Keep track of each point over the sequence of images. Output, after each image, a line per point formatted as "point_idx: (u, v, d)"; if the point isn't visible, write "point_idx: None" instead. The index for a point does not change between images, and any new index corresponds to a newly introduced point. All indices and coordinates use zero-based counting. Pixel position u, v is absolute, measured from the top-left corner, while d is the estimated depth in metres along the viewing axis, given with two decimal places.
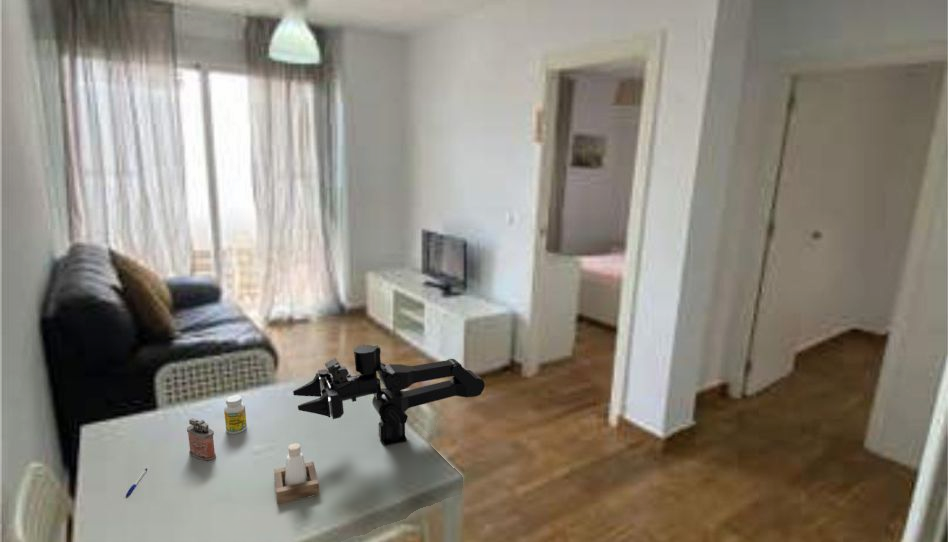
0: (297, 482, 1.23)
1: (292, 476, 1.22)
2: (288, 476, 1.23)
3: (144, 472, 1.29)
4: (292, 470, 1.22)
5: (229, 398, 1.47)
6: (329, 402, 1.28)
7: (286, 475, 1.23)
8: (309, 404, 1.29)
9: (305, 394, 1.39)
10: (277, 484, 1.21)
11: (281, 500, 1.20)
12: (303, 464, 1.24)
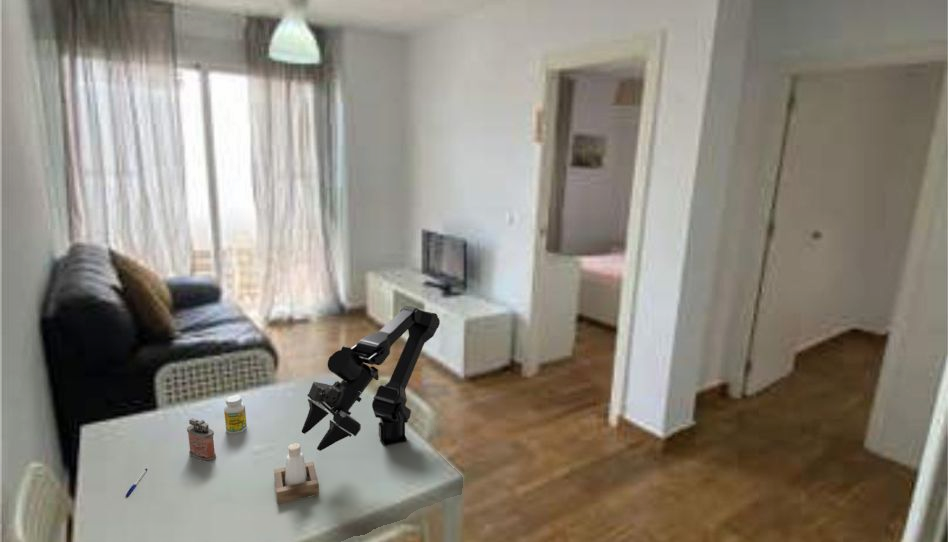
0: (297, 482, 1.23)
1: (292, 476, 1.22)
2: (288, 476, 1.23)
3: (144, 472, 1.29)
4: (292, 470, 1.22)
5: (229, 398, 1.47)
6: (341, 427, 1.20)
7: (286, 475, 1.23)
8: (325, 440, 1.21)
9: (313, 424, 1.30)
10: (277, 484, 1.21)
11: (281, 500, 1.20)
12: (303, 464, 1.24)
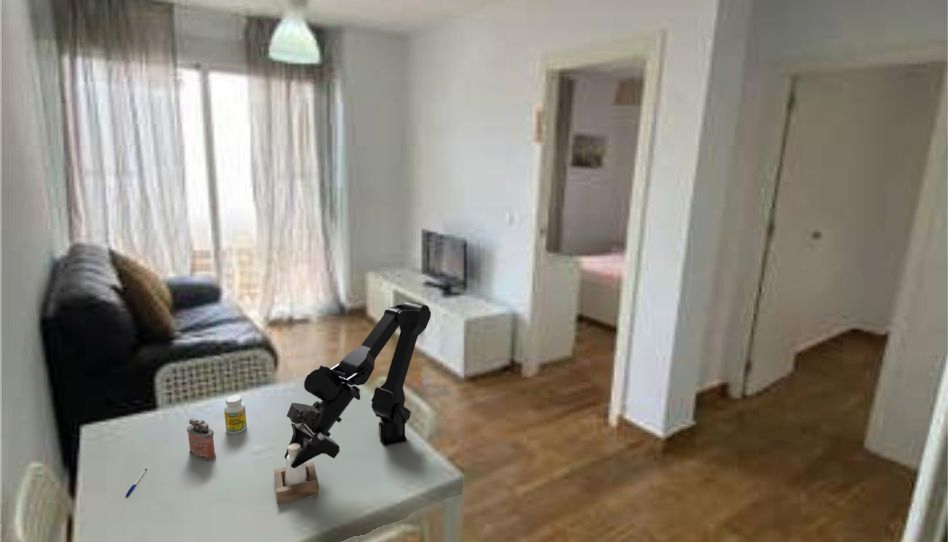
0: (297, 482, 1.23)
1: (292, 476, 1.22)
2: (288, 476, 1.23)
3: (144, 472, 1.29)
4: (292, 470, 1.22)
5: (229, 398, 1.47)
6: None
7: (286, 475, 1.23)
8: (299, 458, 1.21)
9: None
10: (277, 484, 1.21)
11: (281, 500, 1.20)
12: (303, 464, 1.24)
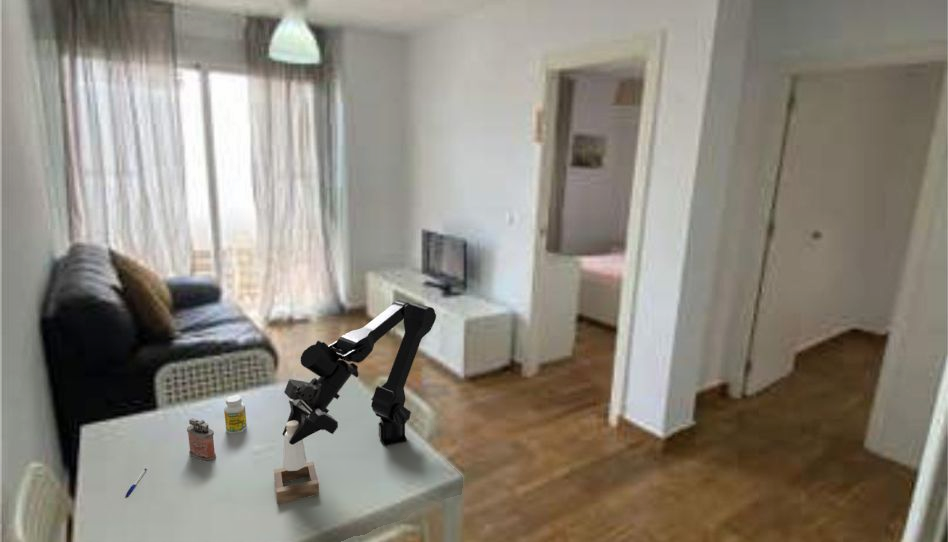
0: (295, 459, 1.22)
1: (290, 453, 1.22)
2: (286, 453, 1.22)
3: (143, 472, 1.29)
4: (290, 447, 1.21)
5: (229, 398, 1.47)
6: None
7: (284, 452, 1.22)
8: (297, 434, 1.20)
9: None
10: (277, 484, 1.21)
11: (281, 500, 1.20)
12: (301, 441, 1.23)
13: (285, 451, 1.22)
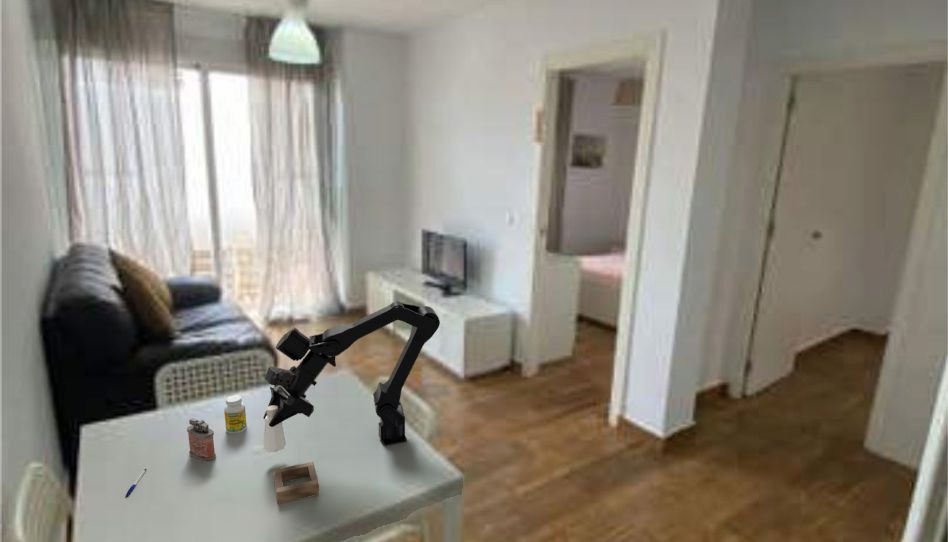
0: (275, 441, 1.32)
1: (270, 435, 1.31)
2: (266, 435, 1.32)
3: (143, 472, 1.29)
4: (269, 429, 1.31)
5: (229, 398, 1.47)
6: None
7: (264, 434, 1.32)
8: (276, 417, 1.30)
9: None
10: (277, 484, 1.21)
11: (281, 500, 1.20)
12: (280, 424, 1.33)
13: (265, 433, 1.32)
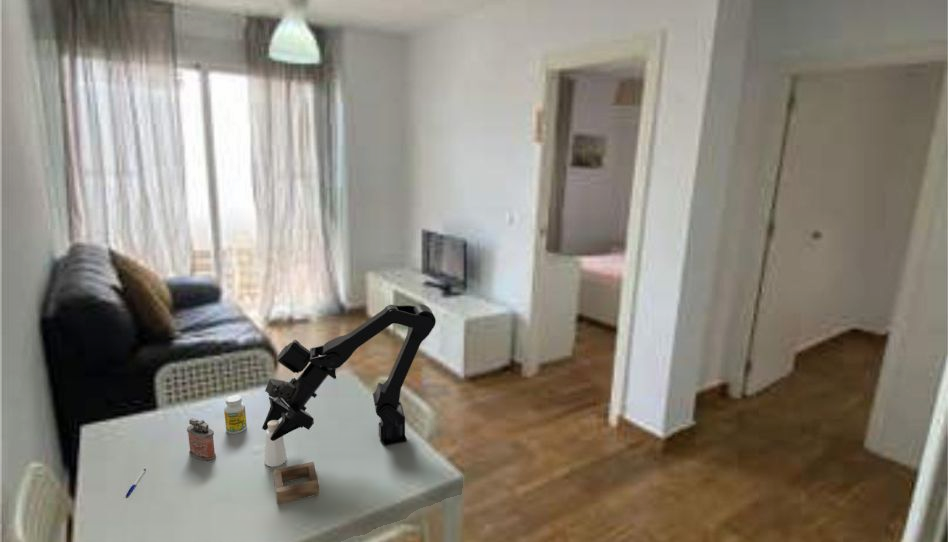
0: (275, 455, 1.33)
1: (271, 450, 1.32)
2: (267, 450, 1.33)
3: (143, 472, 1.29)
4: (270, 444, 1.32)
5: (229, 398, 1.47)
6: None
7: (265, 449, 1.33)
8: (278, 431, 1.30)
9: None
10: (277, 484, 1.21)
11: (281, 500, 1.20)
12: (281, 439, 1.34)
13: (266, 448, 1.33)
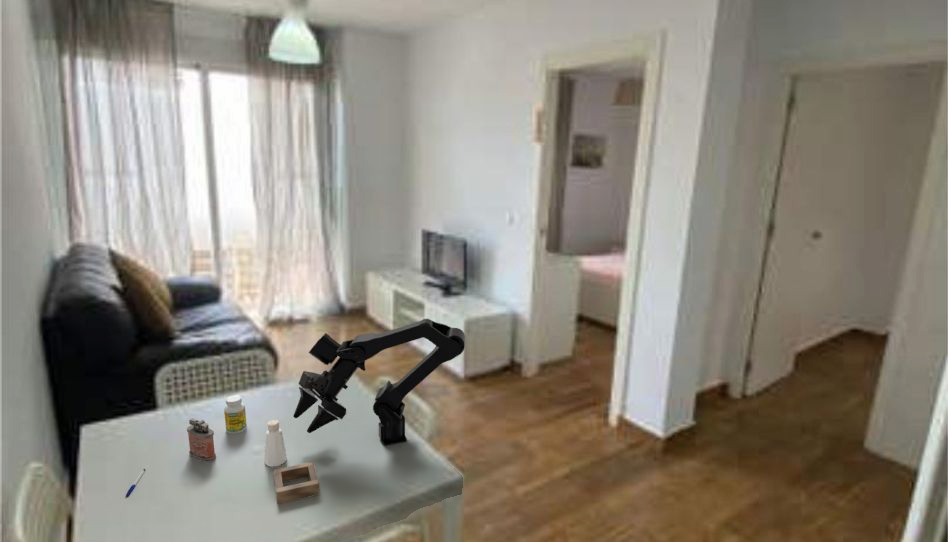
0: (275, 456, 1.33)
1: (270, 450, 1.32)
2: (267, 450, 1.33)
3: (143, 472, 1.29)
4: (270, 444, 1.32)
5: (229, 398, 1.47)
6: (328, 411, 1.33)
7: (265, 449, 1.33)
8: (314, 423, 1.34)
9: (304, 409, 1.43)
10: (277, 484, 1.21)
11: (281, 500, 1.20)
12: (281, 439, 1.34)
13: (266, 448, 1.33)
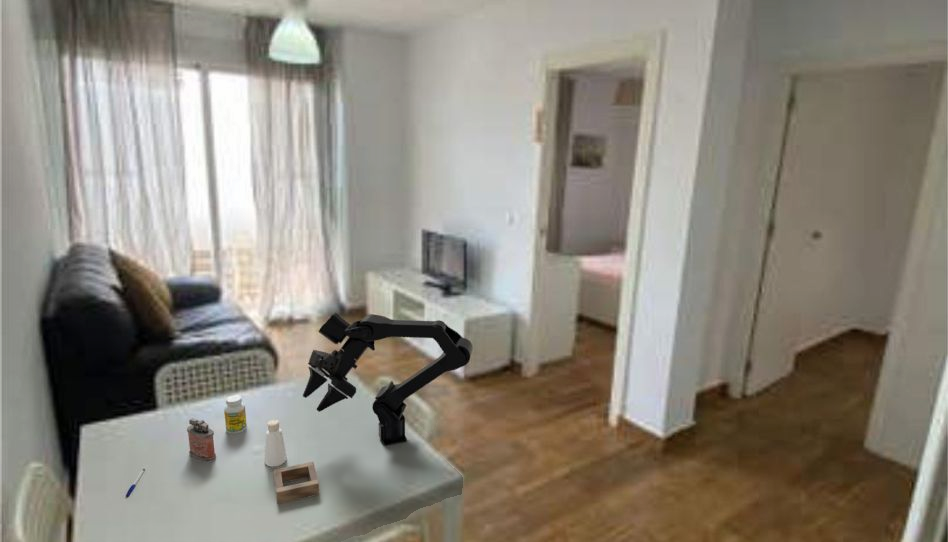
0: (275, 455, 1.33)
1: (271, 450, 1.32)
2: (267, 450, 1.33)
3: (142, 472, 1.29)
4: (270, 444, 1.32)
5: (229, 398, 1.47)
6: (338, 390, 1.33)
7: (265, 449, 1.33)
8: (324, 402, 1.34)
9: (314, 389, 1.42)
10: (277, 484, 1.21)
11: (281, 500, 1.20)
12: (281, 439, 1.34)
13: (266, 448, 1.33)
